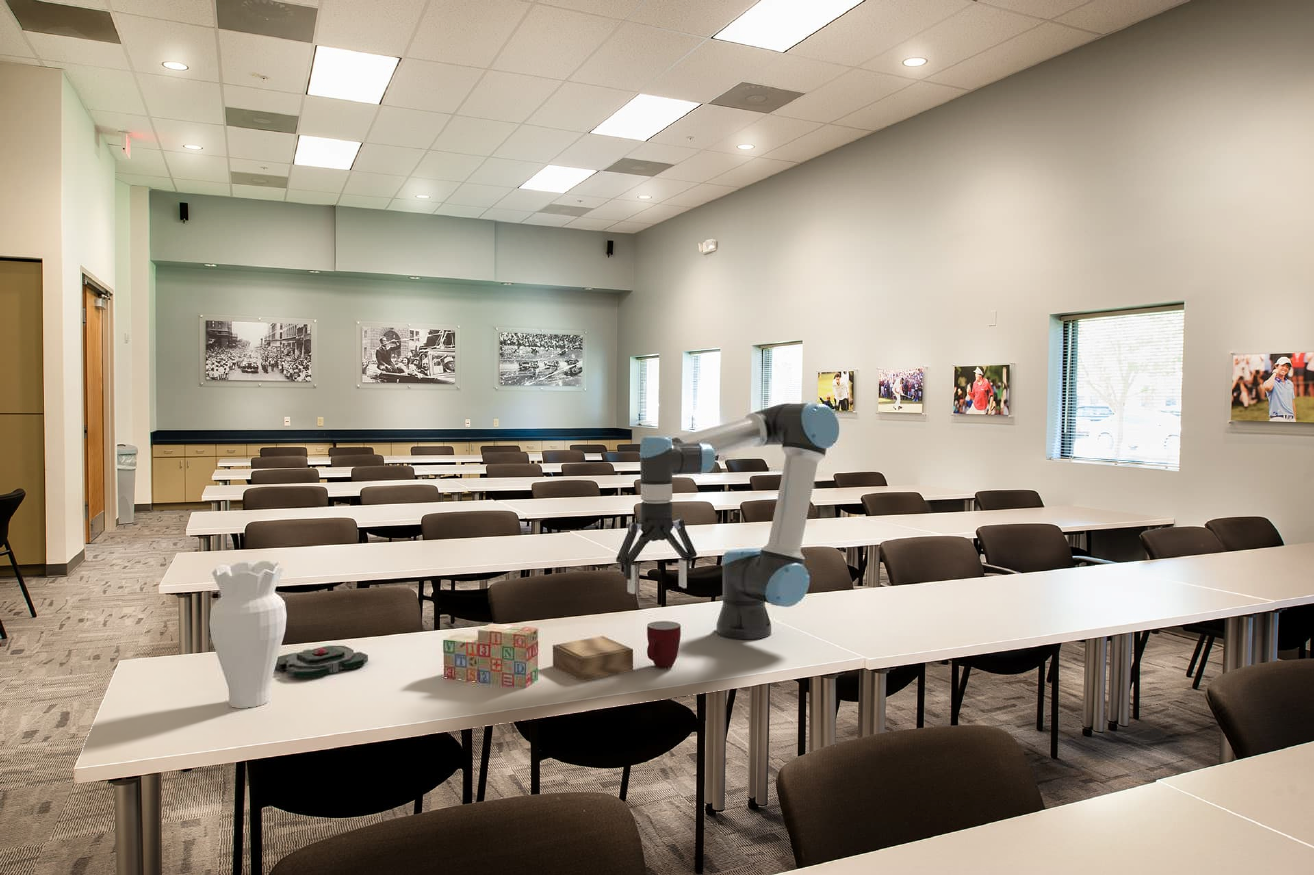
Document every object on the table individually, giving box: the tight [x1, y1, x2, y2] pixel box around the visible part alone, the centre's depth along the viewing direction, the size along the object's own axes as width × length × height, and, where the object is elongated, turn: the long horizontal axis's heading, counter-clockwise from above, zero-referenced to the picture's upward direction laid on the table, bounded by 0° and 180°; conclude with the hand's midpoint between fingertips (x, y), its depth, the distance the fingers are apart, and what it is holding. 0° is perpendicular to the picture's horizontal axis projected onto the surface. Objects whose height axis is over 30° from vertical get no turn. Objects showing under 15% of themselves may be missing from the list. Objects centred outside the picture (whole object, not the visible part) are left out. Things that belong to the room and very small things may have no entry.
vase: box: [208, 560, 288, 709], centre depth 178 cm, size 15×15×29 cm
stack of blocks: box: [442, 623, 539, 689], centre depth 194 cm, size 21×6×12 cm, turn 72°
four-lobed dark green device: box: [275, 645, 369, 678], centre depth 203 cm, size 18×18×5 cm
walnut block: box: [552, 635, 634, 682], centre depth 202 cm, size 14×14×5 cm
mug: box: [646, 620, 682, 670], centre depth 202 cm, size 11×8×10 cm
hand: (657, 590), depth 201 cm, fingers open, 13 cm apart
